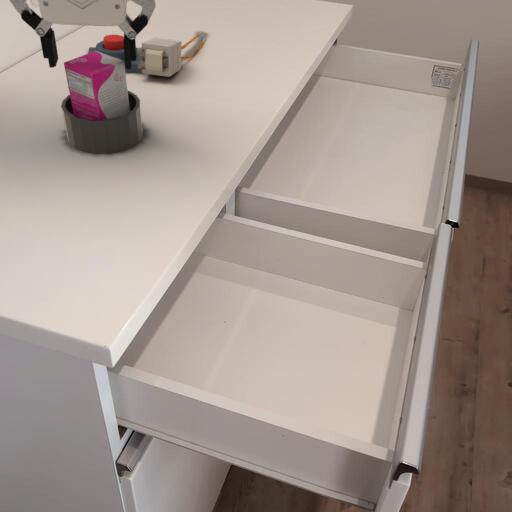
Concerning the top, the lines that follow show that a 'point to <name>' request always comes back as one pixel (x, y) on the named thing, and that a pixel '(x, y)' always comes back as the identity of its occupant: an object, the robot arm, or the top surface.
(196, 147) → the top surface
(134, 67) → the button housing
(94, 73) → the supplement box
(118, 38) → the power button
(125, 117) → the dark grey round bin
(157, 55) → the electrical component
